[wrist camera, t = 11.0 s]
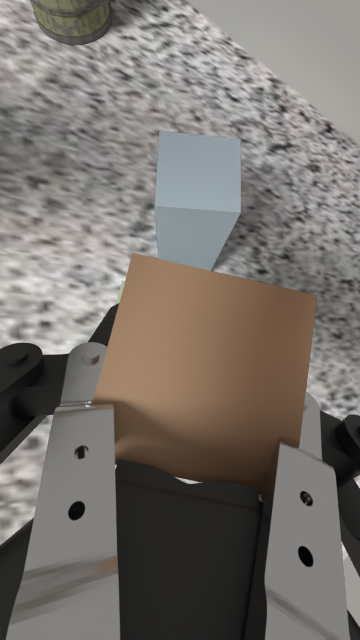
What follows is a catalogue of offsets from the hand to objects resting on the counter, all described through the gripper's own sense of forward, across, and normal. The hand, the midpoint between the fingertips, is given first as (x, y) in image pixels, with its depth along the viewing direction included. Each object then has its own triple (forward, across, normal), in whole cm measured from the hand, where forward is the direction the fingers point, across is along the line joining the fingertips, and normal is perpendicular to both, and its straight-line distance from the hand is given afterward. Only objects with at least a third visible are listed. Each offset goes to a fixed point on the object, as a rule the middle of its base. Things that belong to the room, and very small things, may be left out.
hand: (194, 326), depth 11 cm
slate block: (+14, +2, +1) cm, 15 cm away
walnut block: (+2, 0, +5) cm, 5 cm away
